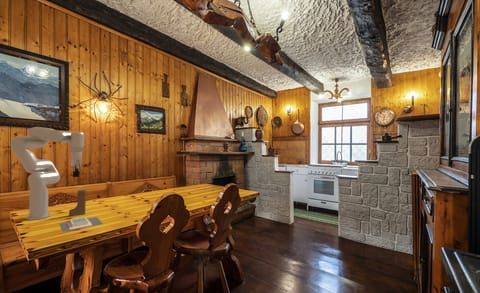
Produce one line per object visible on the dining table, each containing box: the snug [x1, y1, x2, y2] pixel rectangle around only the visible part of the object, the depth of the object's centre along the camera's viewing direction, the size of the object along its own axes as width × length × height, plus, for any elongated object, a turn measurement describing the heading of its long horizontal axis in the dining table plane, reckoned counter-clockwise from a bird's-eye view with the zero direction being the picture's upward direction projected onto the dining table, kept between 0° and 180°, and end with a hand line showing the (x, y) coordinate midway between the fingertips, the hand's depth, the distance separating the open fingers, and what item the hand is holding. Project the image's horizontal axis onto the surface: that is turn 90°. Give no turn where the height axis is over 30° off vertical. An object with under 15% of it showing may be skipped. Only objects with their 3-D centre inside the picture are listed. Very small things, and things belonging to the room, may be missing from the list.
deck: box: [69, 217, 89, 227], centre depth 134 cm, size 2×8×10 cm
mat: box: [59, 216, 104, 233], centre depth 134 cm, size 20×20×1 cm
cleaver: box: [68, 189, 87, 218], centre depth 152 cm, size 9×4×18 cm, turn 132°
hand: (75, 176), depth 143 cm, fingers closed
